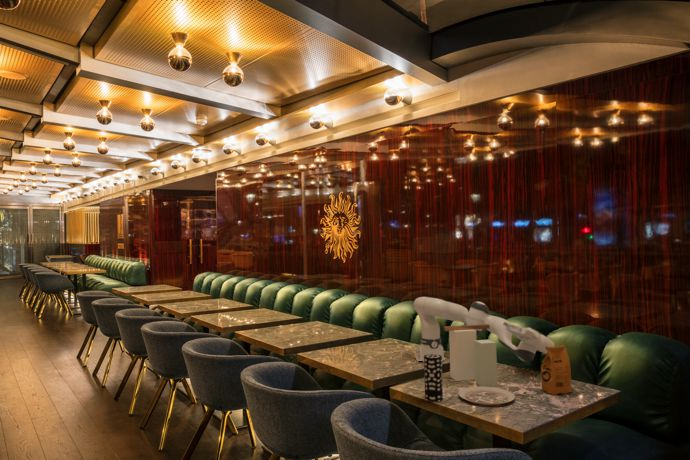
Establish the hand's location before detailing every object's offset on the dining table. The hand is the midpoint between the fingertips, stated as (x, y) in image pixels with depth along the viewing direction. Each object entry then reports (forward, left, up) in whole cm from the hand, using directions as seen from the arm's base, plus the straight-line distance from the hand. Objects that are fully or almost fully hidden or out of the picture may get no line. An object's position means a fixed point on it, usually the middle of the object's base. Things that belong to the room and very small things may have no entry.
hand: (508, 324), depth 271 cm
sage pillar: (+14, -21, -27) cm, 37 cm away
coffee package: (+33, +6, -28) cm, 43 cm away
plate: (+34, -31, -28) cm, 53 cm away
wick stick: (0, -24, -1) cm, 24 cm away
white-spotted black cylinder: (+29, -55, -28) cm, 68 cm away
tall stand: (0, -27, -27) cm, 38 cm away
